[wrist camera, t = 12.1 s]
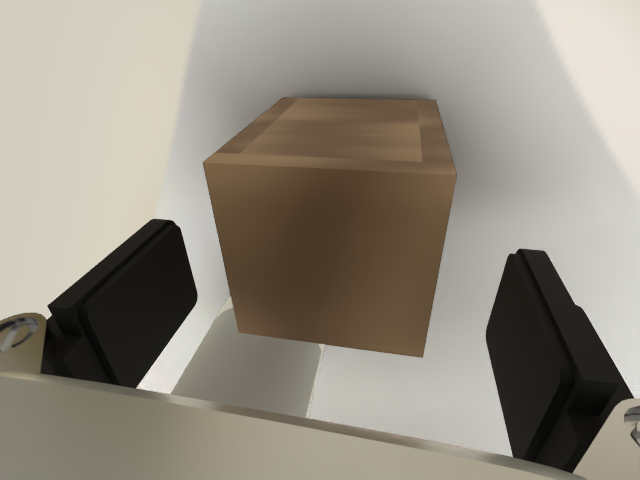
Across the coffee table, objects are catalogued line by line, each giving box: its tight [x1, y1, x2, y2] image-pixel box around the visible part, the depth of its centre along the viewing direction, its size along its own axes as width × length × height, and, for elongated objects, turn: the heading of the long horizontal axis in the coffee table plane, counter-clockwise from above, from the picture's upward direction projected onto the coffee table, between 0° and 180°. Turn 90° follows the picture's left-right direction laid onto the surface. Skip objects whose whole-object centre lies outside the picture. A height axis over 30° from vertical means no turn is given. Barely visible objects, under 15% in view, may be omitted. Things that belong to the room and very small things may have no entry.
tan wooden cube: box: [203, 98, 457, 358], centre depth 13 cm, size 6×6×7 cm
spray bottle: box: [170, 296, 325, 418], centre depth 16 cm, size 7×7×18 cm
